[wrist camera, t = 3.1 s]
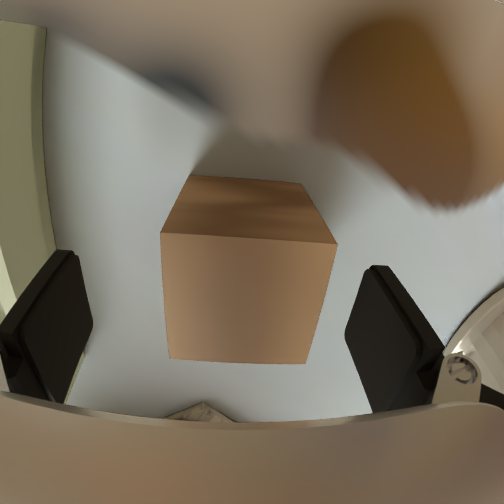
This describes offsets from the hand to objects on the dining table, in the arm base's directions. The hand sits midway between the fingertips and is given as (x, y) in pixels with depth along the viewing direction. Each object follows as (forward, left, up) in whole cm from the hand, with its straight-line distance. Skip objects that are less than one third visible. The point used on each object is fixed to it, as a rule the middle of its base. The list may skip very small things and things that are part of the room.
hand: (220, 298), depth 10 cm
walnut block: (-1, 0, -6) cm, 6 cm away
